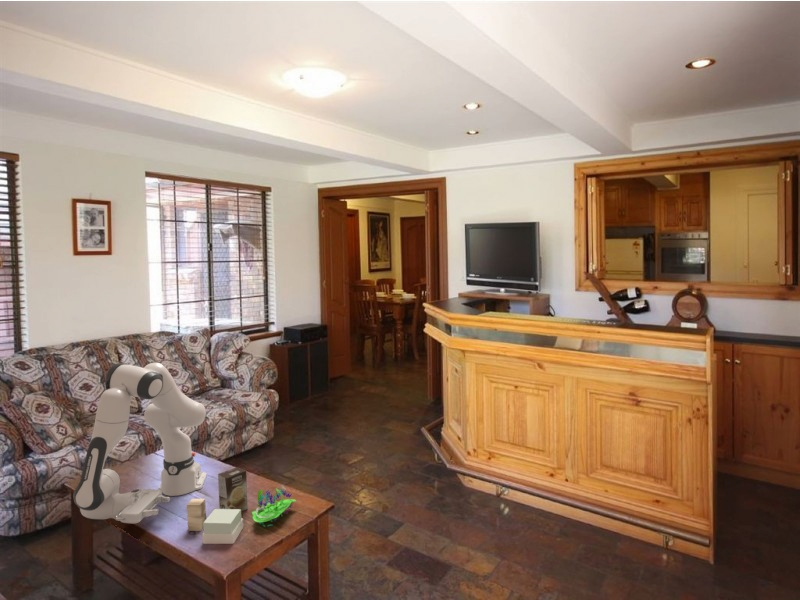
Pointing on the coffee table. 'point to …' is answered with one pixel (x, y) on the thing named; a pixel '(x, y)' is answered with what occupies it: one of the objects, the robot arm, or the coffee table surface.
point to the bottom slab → (223, 536)
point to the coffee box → (233, 489)
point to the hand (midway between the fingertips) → (163, 505)
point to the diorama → (271, 506)
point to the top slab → (222, 521)
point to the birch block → (196, 514)
